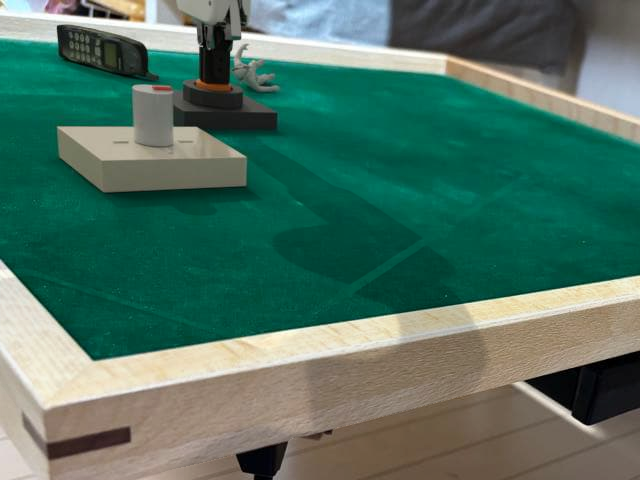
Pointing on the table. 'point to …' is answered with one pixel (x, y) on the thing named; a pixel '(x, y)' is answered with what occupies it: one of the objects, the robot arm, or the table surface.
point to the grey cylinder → (153, 115)
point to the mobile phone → (103, 50)
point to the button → (213, 86)
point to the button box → (220, 109)
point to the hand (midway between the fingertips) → (214, 82)
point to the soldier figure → (251, 73)
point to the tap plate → (150, 160)
